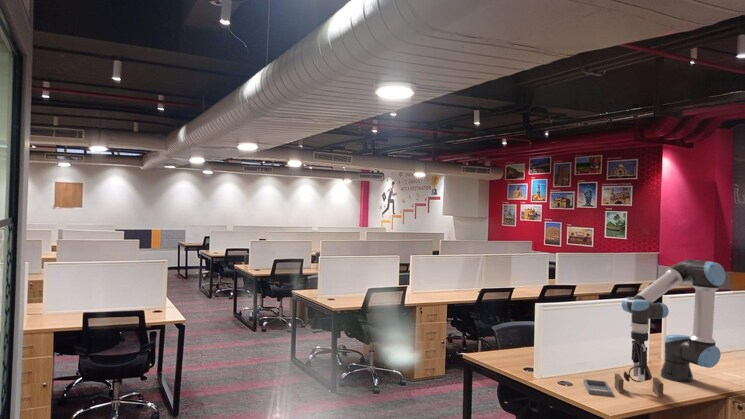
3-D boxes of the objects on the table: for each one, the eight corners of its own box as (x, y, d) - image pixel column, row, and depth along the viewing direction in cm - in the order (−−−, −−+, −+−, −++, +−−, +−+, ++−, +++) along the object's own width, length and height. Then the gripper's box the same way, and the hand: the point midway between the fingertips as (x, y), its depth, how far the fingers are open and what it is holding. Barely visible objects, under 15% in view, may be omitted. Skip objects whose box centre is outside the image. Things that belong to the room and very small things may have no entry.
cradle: (657, 391, 254) (657, 377, 254) (663, 398, 245) (663, 384, 245) (614, 387, 259) (614, 373, 259) (618, 393, 249) (619, 379, 249)
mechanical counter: (655, 387, 248) (656, 366, 247) (627, 386, 249) (628, 365, 248) (649, 381, 255) (649, 361, 254) (622, 380, 256) (623, 360, 256)
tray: (605, 386, 261) (605, 381, 261) (612, 397, 244) (612, 392, 244) (583, 383, 263) (583, 379, 263) (588, 394, 247) (588, 389, 247)
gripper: (625, 326, 262) (624, 371, 262) (638, 335, 243) (637, 384, 243) (640, 327, 261) (639, 372, 261) (655, 336, 242) (654, 385, 242)
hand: (638, 378), depth 252 cm, fingers closed on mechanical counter, 6 cm apart
